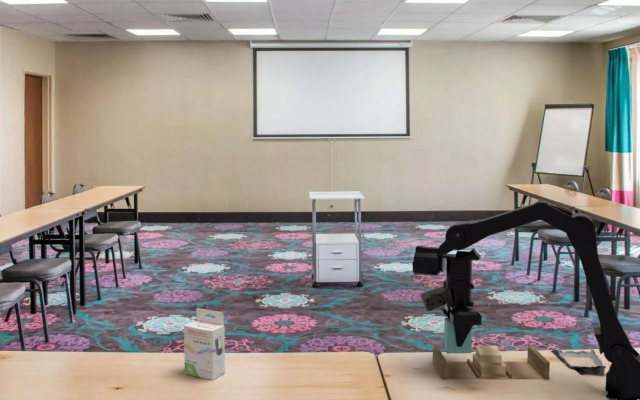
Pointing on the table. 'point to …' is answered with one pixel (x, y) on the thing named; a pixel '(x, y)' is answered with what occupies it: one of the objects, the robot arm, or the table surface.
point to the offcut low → (489, 369)
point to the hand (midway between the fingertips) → (457, 344)
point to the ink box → (205, 345)
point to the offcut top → (488, 355)
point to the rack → (531, 369)
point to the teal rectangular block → (450, 340)
